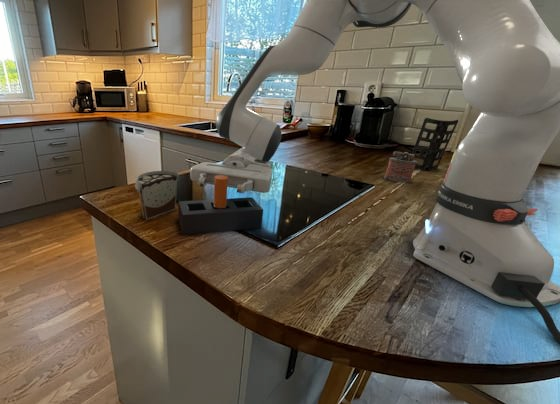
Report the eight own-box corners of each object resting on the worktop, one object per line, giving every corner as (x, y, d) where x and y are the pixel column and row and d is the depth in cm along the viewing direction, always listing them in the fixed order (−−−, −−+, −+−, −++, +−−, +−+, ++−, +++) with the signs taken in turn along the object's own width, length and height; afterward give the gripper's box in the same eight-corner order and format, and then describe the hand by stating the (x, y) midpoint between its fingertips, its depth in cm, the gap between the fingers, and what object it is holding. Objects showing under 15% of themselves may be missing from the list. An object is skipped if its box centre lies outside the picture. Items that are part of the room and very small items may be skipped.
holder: (432, 165, 124) (451, 116, 114) (443, 172, 118) (464, 121, 108) (404, 164, 125) (421, 116, 115) (413, 171, 119) (432, 121, 109)
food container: (165, 201, 84) (164, 167, 80) (179, 207, 80) (179, 172, 76) (127, 213, 76) (124, 176, 72) (141, 221, 72) (138, 183, 68)
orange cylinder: (226, 226, 71) (229, 179, 66) (214, 227, 71) (216, 179, 66) (223, 220, 74) (225, 174, 69) (211, 221, 73) (213, 175, 69)
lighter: (410, 180, 106) (419, 153, 102) (410, 183, 103) (419, 155, 99) (384, 176, 110) (391, 149, 106) (383, 179, 107) (391, 151, 103)
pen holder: (261, 228, 71) (263, 209, 69) (182, 234, 67) (182, 214, 65) (250, 214, 77) (252, 197, 75) (178, 219, 74) (178, 201, 72)
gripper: (202, 154, 81) (179, 167, 70) (277, 163, 74) (265, 179, 62) (201, 176, 84) (179, 192, 72) (274, 187, 77) (262, 206, 65)
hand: (219, 186), depth 67 cm, fingers open, 8 cm apart
